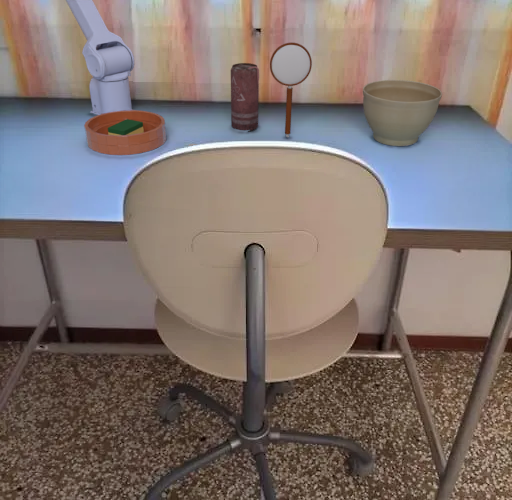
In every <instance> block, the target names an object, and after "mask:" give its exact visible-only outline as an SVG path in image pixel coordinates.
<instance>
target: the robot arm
mask: <svg viewBox="0 0 512 500" xmlns="http://www.w3.org/2000/svg"><path fill="white" fill-rule="evenodd" d="M65 2H66V4H67V5H68V7H69V9H70V11H71V13H72V15H73V17H74V19H75V21H76V22H77V25H78V26H79V28H80V30H81V32H82V34H83V36H84V37H85V39H86V42H85V43H84V45H83V48H82V52H81V54H82V56H83V58H84V60H85V64H86V65H85V66H86V68H87V70H88V73H89V74H90V75H91V76H92V77H91V79H90V81H89V85H88V86H89V87H88V88H89V95H90V101H91V108H92V110H90V112H89V113H90V114H94V115H96V116H97V115H100V114H103V113H108V112H113V111H123V110H134V109H133V106H132V99H131V89H130V81H129V80H130V79H129V77H131V76H132V73H131V72H132V71H133V70H134V68H135V56H134V53H133V52H132V49H131V48H130V47H129V46H128V45H127V44H126V42H124V40H123V39H122V37H121V36H119V34H118V35H117V34H116V33H114V32H111V31H110V30H109V29H108V27H107V25H106V24H105V22H104V19H103V17H102V15H101V14H100V11H99V10H98V8H97V5H96V4H95V3H94V1H93V0H65Z"/></svg>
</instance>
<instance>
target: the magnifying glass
mask: <svg viewBox="0 0 512 500" xmlns="http://www.w3.org/2000/svg"><path fill="white" fill-rule="evenodd" d="M312 66H313V61H312V56H311V54H310V52H309V51H308V49H307V48H306V47H305V46H304V45H302V44H300V43H298V42H286V43H283V44H281V45H280V46H278V47H277V48H276V49H275V50H274V51H273V53H272V55H271V56H270V61H269V71H270V73H271V75H272V77H273V79H274V80H275V82H277V83H279V84H280V85H282V86H286V99H285V123H284V124H285V125H284V134H285V137H286V138H287V139H288V138H290V134H291V129H292V109H293V108H292V107H293V90H294V89H293V86H298V85H300V84H301V83H303V82H304V81H306V79H307V78H308V77H309V75H310V74H311V71H312V68H313V67H312Z"/></svg>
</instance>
